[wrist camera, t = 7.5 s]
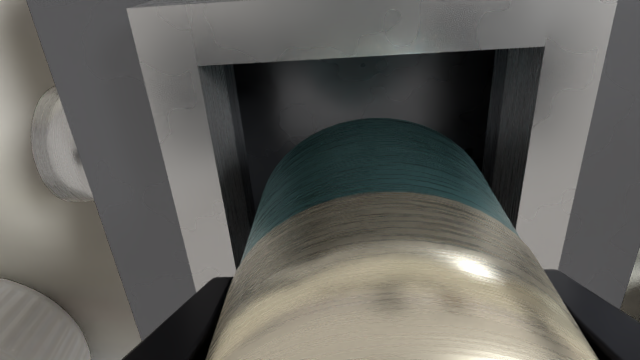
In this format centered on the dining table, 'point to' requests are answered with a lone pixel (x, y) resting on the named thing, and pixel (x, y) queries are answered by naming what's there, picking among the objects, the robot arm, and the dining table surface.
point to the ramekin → (37, 327)
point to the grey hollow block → (336, 119)
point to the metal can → (388, 260)
